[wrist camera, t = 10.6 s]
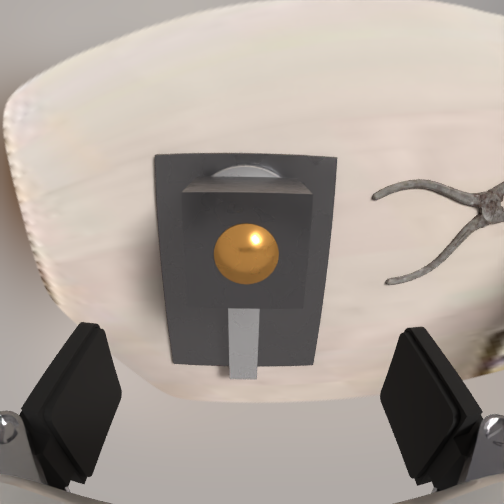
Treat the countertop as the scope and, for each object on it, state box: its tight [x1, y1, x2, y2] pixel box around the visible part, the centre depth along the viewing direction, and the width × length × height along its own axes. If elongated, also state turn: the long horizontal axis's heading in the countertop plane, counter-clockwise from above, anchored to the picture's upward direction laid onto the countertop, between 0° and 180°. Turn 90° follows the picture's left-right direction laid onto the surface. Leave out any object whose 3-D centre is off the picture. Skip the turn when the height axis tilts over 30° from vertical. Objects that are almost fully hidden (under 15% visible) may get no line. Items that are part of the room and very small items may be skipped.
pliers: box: [372, 179, 504, 285], centre depth 26 cm, size 10×1×20 cm
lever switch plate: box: [155, 153, 337, 379], centre depth 25 cm, size 14×20×6 cm
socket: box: [181, 177, 313, 309], centre depth 21 cm, size 7×7×6 cm
